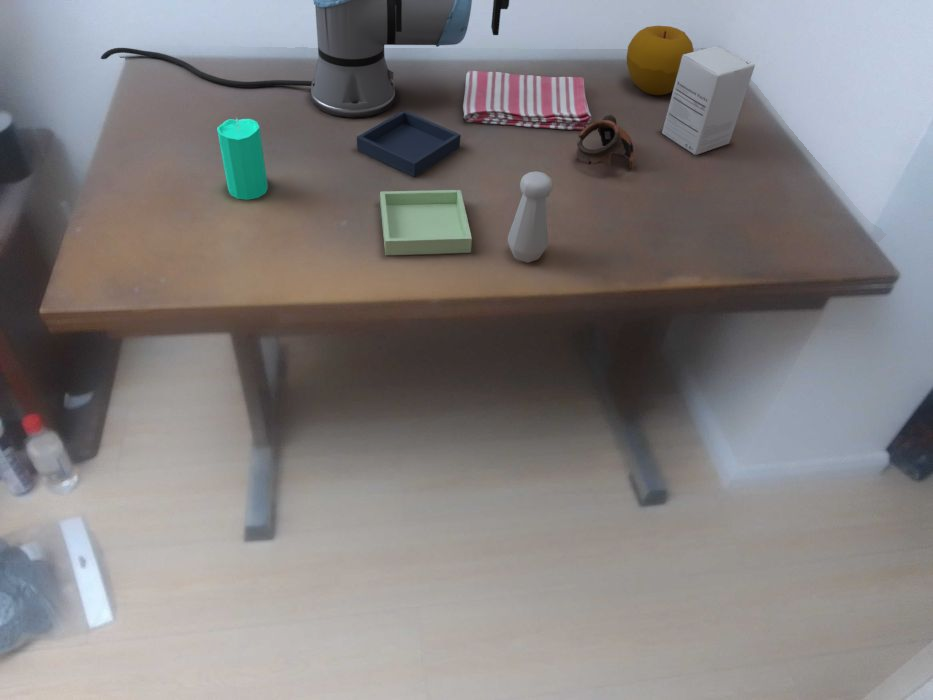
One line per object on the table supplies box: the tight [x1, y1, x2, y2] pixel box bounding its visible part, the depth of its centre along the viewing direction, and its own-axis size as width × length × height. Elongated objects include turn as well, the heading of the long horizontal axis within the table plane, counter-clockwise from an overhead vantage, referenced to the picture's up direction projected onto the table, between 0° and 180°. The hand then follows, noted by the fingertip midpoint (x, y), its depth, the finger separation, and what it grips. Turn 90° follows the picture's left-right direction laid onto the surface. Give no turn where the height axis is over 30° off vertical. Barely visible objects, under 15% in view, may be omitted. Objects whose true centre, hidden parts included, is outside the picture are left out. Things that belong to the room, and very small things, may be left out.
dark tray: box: [356, 109, 462, 178], centre depth 129 cm, size 12×12×3 cm
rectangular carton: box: [661, 44, 756, 156], centre depth 134 cm, size 9×9×15 cm
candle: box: [216, 117, 269, 201], centre depth 115 cm, size 6×6×12 cm
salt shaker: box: [507, 171, 553, 264], centre depth 107 cm, size 6×6×13 cm
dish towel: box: [462, 69, 592, 131], centre depth 143 cm, size 17×23×4 cm
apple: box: [626, 25, 695, 96], centre depth 149 cm, size 13×13×11 cm
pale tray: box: [379, 189, 473, 256], centre depth 114 cm, size 12×12×3 cm
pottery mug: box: [575, 114, 635, 170], centre depth 130 cm, size 12×10×8 cm
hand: (447, 29), depth 108 cm, fingers open, 13 cm apart
